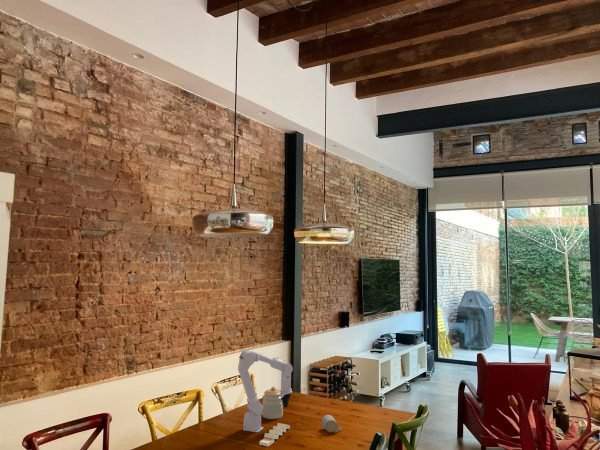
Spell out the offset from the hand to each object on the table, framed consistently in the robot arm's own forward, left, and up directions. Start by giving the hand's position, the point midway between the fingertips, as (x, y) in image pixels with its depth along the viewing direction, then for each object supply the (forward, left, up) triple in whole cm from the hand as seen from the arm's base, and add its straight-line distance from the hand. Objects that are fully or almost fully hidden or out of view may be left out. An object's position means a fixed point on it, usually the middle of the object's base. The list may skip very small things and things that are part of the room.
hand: (285, 407), depth 269 cm
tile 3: (+2, -16, -9) cm, 18 cm away
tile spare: (+2, -26, -10) cm, 28 cm away
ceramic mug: (+28, +2, -10) cm, 30 cm away
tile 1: (+2, -5, -9) cm, 11 cm away
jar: (-13, +12, -10) cm, 21 cm away
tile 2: (+2, -10, -9) cm, 14 cm away
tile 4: (+2, -21, -9) cm, 23 cm away
